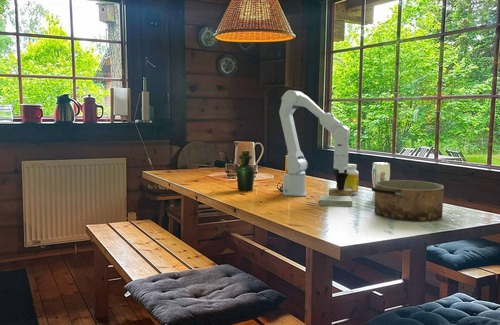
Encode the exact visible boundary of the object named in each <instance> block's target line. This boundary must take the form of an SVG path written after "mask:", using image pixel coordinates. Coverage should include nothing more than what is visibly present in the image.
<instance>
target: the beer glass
mask: <svg viewBox="0 0 500 325" xmlns="http://www.w3.org/2000/svg"><path fill="white" fill-rule="evenodd" d="M390 177H391V163H389V162H380V161H379V162H378V161H377V162H372V170H371V178H372V179H371V180H372V188H373V187H374V188H375V185H376V182H379V181H385V180H390ZM371 199H372V201H374V202H375V191H372V198H371Z"/></svg>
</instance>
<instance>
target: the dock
mask: <svg viewBox="0 0 500 325" xmlns="http://www.w3.org/2000/svg"><path fill="white" fill-rule="evenodd" d="M319 205H320V206H330V207H331V206H333V207H334V206H335V207H339V206H340V207H353V198H352V196H329V195H324V194H323V195H320V196H319Z"/></svg>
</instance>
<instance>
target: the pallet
mask: <svg viewBox="0 0 500 325" xmlns="http://www.w3.org/2000/svg"><path fill="white" fill-rule="evenodd" d="M328 196H351V197H352V196H353V195H352V190H351V189H344V190H336V187H328Z"/></svg>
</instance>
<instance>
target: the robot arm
mask: <svg viewBox="0 0 500 325" xmlns="http://www.w3.org/2000/svg"><path fill="white" fill-rule="evenodd" d="M299 107H304V108H306V109H307V110H308V111H309V112H311V113H312V114H313V115H314V116H315V117H316V118H318V119H319V123H320V125H322V126H323V127H324V128H325V129H326V130H327V131H328V132H329V133H330V134H332V136H333V139H334V144H333V147H334V148H333V165H332V166H333V167H332V168H333V174H334V176H335V180H336V185H337V187H338V190H343V189H344V185H345V181H346V178H347V176H348V173H346V172H347V170H346V169H348V168H351V166H348V164H349V150H350V149H349V148H350V147H349V146H350V145H349V138H350V136H351V130H350V128H349V126H347V125H343V124H344V122H343V121H340V120H338V119H337V118H336V117H335V114H334V113H331V112H325V111H324V110H323V109H321V108H320V107H319V106H318V104H317V103H315V101H314V100H312V99H311V98H310V97H309V96H308V95H306V94H304V92H302V91H300V90H293V89H288V90H287V91H285V92H284V94H283V95H281V103H280V107H279V113H278V114H279V118H280V121H281V123H280V124H281V127H282V131H283V135H284V140H285V145H286V148H287V149H286V150H287V155H286V170H287V172H288V173H284V174H283V178H282V179H283V180H282V182H283V183H282V184H283V186H282V195H283V196H293V197H294V196H296V197H302V196H303V197H305V196H307V192H306V170H307V168H308V161H307V160H306V158H305V156H304V153H303V152H302V151H301V148H300V143H299V138H298V135H297V130H296V125H295V120H294V116H293V114H294V113H295V111H296V110H297V109H298V108H299Z"/></svg>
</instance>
